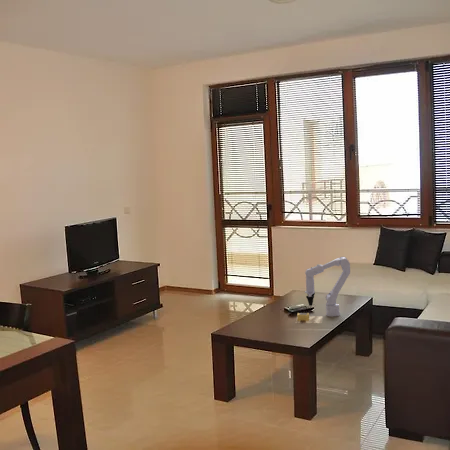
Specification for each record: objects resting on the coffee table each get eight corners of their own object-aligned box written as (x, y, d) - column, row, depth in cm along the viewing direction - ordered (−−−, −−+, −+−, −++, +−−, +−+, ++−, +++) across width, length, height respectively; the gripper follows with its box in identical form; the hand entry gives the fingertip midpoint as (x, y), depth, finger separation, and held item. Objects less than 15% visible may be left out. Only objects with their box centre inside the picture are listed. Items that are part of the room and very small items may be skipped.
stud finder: (309, 318, 389) (309, 312, 389) (308, 320, 385) (308, 314, 385) (298, 318, 391) (297, 312, 391) (297, 320, 387) (297, 314, 386)
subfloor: (322, 317, 395) (322, 315, 394) (321, 325, 376) (321, 323, 376) (297, 317, 399) (297, 315, 398) (295, 324, 380) (295, 323, 380)
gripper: (305, 283, 402) (306, 301, 404) (303, 288, 388) (304, 306, 390) (315, 283, 400) (315, 301, 402) (313, 287, 386) (314, 306, 388)
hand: (311, 304), depth 396 cm, fingers open, 7 cm apart
